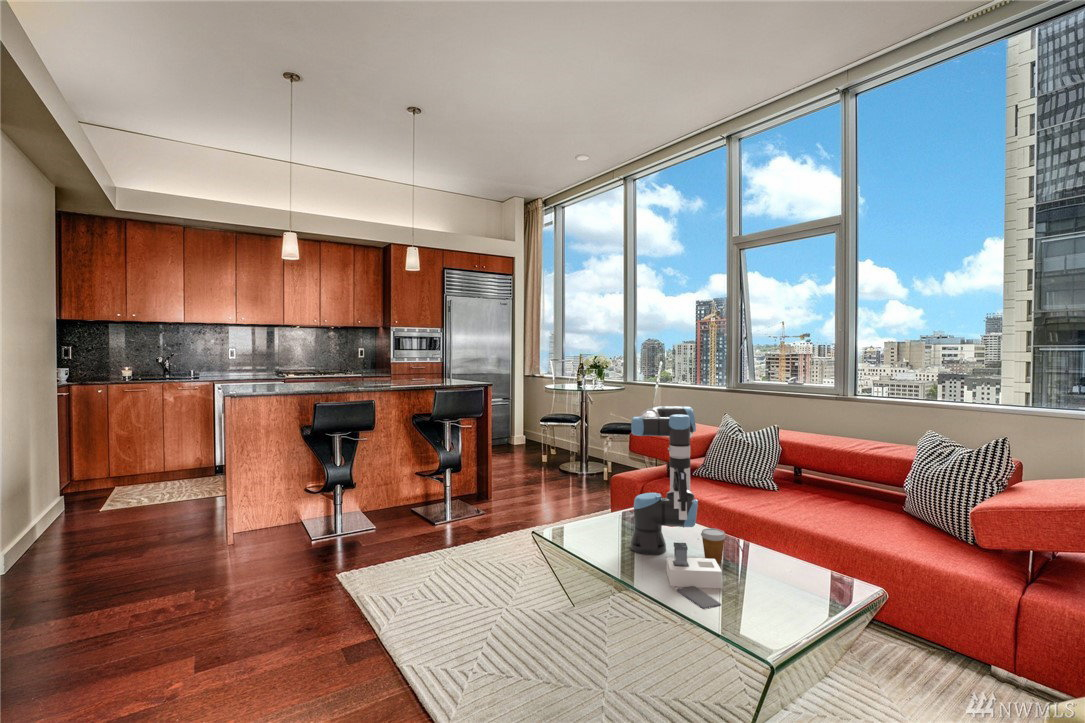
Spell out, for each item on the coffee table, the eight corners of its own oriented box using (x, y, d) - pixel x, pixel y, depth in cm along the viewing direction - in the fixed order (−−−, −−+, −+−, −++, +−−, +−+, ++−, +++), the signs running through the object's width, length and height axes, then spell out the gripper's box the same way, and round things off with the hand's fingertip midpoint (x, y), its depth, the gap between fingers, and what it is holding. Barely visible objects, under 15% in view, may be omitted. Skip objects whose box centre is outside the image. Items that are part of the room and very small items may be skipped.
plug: (673, 574, 195) (673, 542, 195) (685, 574, 194) (685, 542, 194) (675, 579, 191) (675, 546, 191) (687, 579, 190) (687, 547, 190)
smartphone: (703, 608, 170) (675, 588, 184) (703, 611, 170) (675, 591, 184) (722, 603, 173) (693, 585, 186) (722, 606, 173) (693, 587, 186)
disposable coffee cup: (727, 566, 204) (727, 536, 204) (702, 565, 206) (702, 535, 206) (724, 557, 213) (723, 528, 213) (699, 556, 215) (699, 527, 215)
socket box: (666, 572, 199) (666, 556, 199) (714, 574, 197) (714, 558, 197) (670, 586, 187) (670, 569, 187) (722, 588, 185) (721, 571, 185)
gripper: (665, 450, 205) (666, 504, 205) (673, 463, 180) (674, 524, 181) (685, 450, 204) (685, 504, 204) (696, 463, 180) (696, 524, 180)
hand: (680, 513), depth 193 cm, fingers open, 13 cm apart
